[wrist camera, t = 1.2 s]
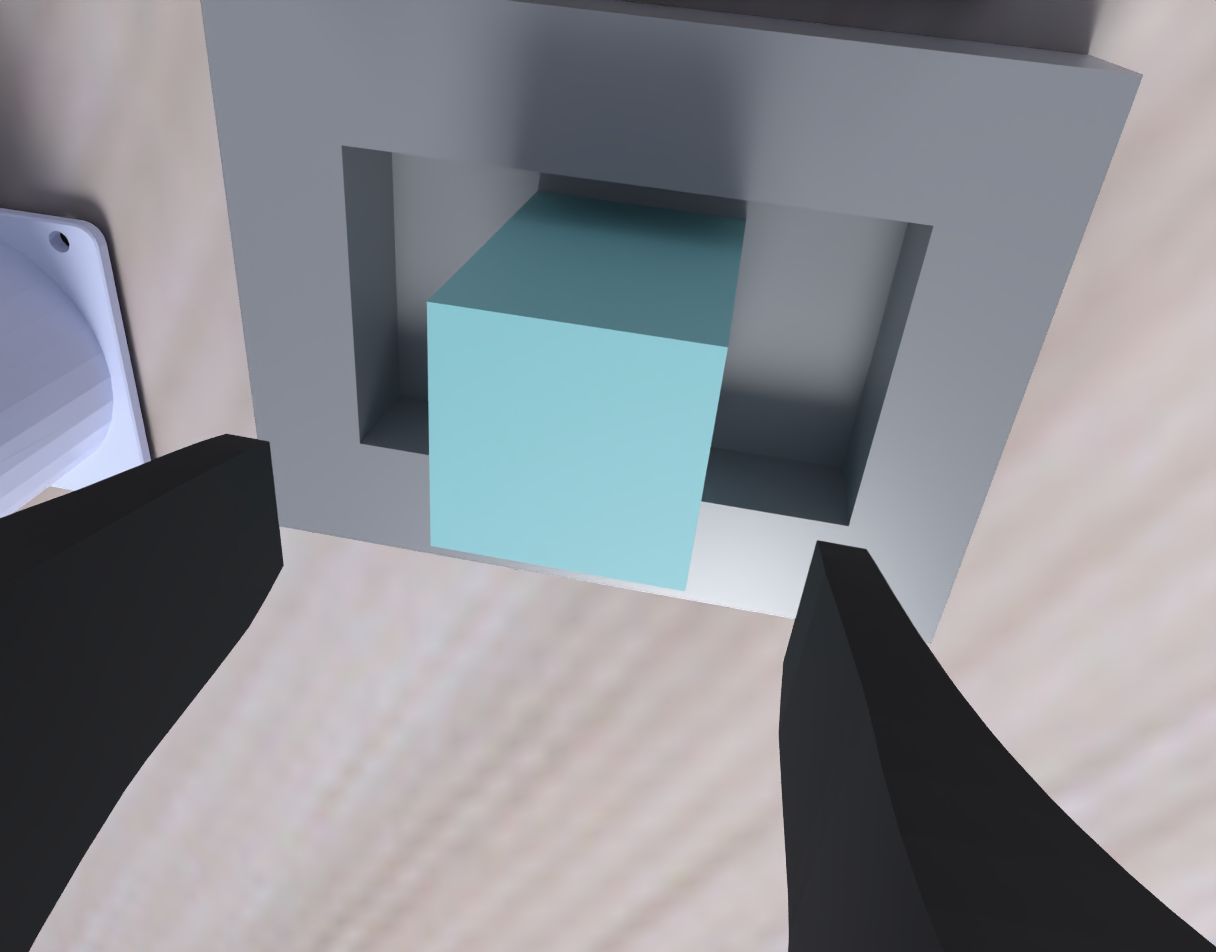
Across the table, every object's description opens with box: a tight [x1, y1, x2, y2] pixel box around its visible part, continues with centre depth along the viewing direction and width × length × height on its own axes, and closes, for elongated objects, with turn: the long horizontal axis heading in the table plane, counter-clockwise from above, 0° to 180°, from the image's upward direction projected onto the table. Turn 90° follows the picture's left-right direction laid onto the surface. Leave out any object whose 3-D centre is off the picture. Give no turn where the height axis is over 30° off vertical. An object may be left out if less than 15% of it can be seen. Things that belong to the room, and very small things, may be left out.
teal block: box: [427, 191, 746, 591], centre depth 17 cm, size 4×4×7 cm
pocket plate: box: [200, 0, 1143, 644], centre depth 19 cm, size 16×12×3 cm
